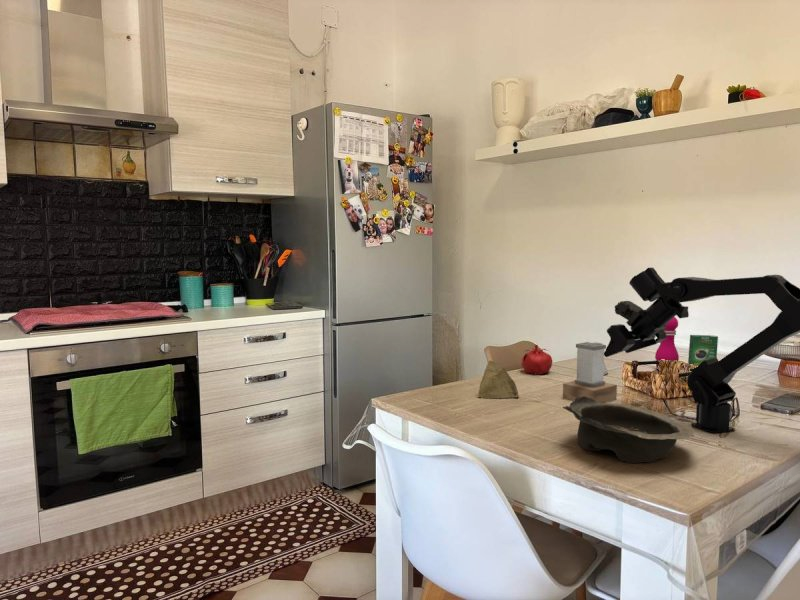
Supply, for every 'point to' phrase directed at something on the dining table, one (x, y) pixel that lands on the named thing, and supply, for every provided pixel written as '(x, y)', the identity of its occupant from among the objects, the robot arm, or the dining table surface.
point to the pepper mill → (668, 343)
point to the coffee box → (702, 348)
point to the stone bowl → (627, 430)
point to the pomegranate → (536, 361)
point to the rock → (497, 383)
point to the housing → (590, 364)
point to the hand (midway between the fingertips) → (615, 353)
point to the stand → (590, 392)
